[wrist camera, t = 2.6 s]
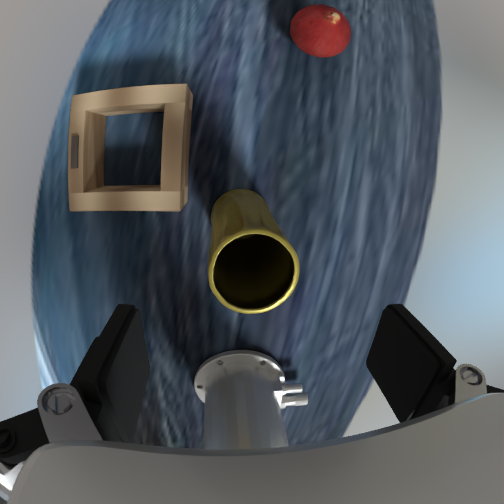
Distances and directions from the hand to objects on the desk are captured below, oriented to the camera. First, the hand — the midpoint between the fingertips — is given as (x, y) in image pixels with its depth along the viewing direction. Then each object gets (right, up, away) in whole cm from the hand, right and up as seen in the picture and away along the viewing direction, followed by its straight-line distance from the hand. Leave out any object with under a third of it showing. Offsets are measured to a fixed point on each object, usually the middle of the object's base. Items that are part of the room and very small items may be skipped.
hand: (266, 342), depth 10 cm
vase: (-2, +7, +19) cm, 21 cm away
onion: (+6, +26, +13) cm, 29 cm away
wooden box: (-12, +14, +16) cm, 24 cm away
